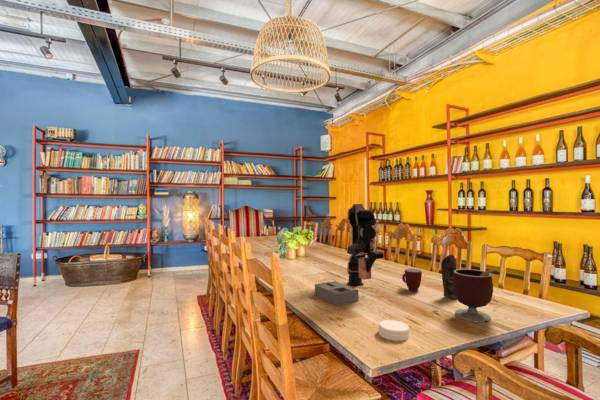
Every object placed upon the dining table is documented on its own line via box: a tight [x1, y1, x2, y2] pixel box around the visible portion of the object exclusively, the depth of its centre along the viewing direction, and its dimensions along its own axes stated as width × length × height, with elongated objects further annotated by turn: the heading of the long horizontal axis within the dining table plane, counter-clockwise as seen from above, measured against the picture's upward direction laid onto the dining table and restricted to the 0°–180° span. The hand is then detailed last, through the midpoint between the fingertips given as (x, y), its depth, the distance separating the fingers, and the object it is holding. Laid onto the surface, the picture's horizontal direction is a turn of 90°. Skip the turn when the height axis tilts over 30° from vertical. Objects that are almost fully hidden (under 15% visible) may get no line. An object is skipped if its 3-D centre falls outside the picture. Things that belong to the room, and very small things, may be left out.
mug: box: [401, 268, 423, 292], centre depth 158 cm, size 11×8×10 cm
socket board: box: [314, 280, 359, 307], centre depth 145 cm, size 12×18×5 cm, turn 29°
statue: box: [440, 254, 457, 300], centre depth 145 cm, size 7×7×20 cm
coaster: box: [378, 319, 410, 342], centre depth 105 cm, size 10×10×4 cm
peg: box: [358, 256, 372, 280], centre depth 142 cm, size 4×4×9 cm
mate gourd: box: [453, 268, 496, 323], centre depth 120 cm, size 16×14×20 cm
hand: (364, 271), depth 142 cm, fingers closed on peg, 4 cm apart
